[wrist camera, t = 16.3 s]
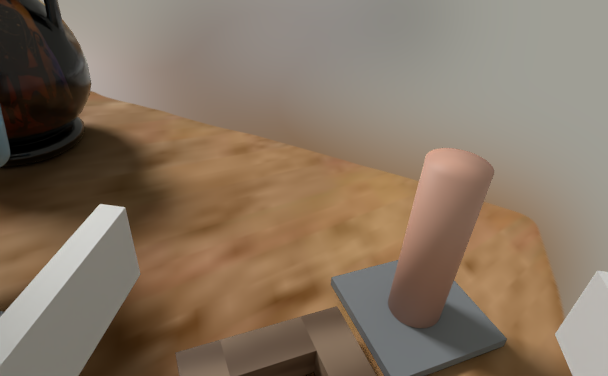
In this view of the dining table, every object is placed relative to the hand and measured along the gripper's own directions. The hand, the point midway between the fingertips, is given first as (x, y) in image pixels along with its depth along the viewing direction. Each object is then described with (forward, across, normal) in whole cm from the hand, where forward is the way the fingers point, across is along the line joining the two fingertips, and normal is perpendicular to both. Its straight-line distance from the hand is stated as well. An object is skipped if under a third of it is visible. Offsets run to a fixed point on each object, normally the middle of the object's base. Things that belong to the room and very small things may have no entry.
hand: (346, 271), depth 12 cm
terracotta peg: (+19, +8, -23) cm, 31 cm away
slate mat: (+19, +9, -24) cm, 32 cm away
